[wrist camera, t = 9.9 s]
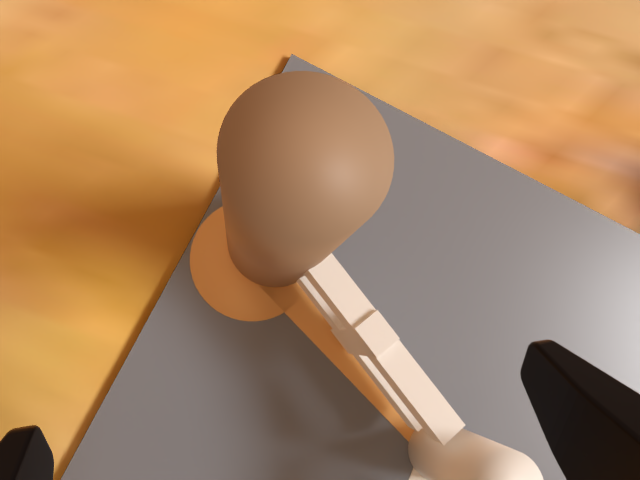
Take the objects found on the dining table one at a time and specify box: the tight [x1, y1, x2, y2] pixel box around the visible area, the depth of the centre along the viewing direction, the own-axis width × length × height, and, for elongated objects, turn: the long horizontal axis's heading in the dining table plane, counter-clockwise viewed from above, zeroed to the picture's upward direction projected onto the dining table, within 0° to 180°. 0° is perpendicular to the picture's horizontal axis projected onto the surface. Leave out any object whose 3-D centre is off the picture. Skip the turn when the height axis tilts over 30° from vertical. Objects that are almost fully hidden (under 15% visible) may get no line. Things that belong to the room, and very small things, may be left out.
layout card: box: [61, 54, 640, 480], centre depth 22 cm, size 26×24×1 cm
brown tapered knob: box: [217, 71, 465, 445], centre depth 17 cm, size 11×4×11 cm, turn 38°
